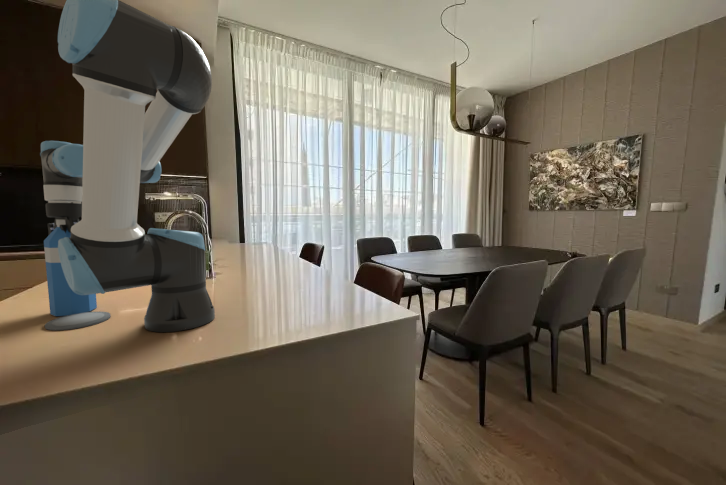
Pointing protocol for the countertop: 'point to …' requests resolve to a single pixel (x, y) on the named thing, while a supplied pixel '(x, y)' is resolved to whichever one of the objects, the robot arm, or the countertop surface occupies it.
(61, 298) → the water bottle
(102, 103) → the robot arm
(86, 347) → the countertop surface
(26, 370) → the countertop surface
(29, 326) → the countertop surface
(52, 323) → the coaster
